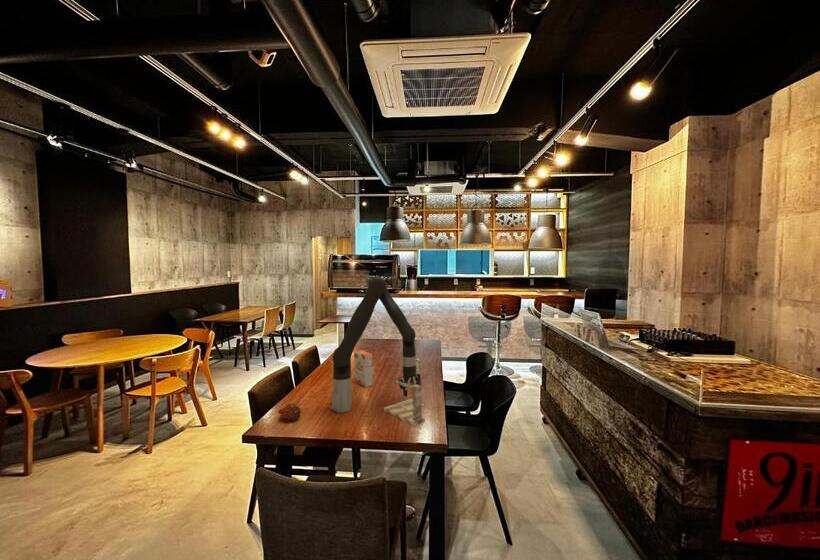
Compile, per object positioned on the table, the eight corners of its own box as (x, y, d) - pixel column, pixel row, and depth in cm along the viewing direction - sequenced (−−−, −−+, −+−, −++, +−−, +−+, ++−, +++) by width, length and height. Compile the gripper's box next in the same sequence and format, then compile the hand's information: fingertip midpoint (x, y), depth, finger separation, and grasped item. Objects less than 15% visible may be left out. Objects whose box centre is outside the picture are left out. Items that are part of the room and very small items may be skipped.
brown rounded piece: (301, 424, 170) (280, 425, 172) (307, 409, 176) (286, 410, 179) (293, 415, 165) (271, 416, 167) (299, 399, 171) (278, 401, 174)
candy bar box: (419, 382, 224) (418, 357, 223) (420, 385, 219) (420, 360, 218) (402, 384, 222) (401, 359, 221) (403, 386, 217) (403, 361, 216)
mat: (408, 411, 180) (408, 410, 180) (395, 404, 188) (395, 403, 188) (423, 405, 187) (423, 404, 187) (410, 399, 195) (410, 398, 195)
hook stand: (424, 421, 168) (424, 385, 167) (413, 426, 163) (413, 388, 162) (394, 406, 186) (393, 373, 185) (384, 410, 181) (383, 376, 181)
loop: (407, 398, 185) (407, 386, 184) (404, 396, 187) (404, 385, 186) (415, 395, 188) (415, 384, 188) (412, 394, 190) (412, 382, 190)
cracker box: (354, 382, 226) (353, 350, 226) (362, 380, 230) (361, 349, 229) (364, 388, 215) (364, 355, 214) (373, 386, 219) (372, 353, 218)
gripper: (414, 360, 194) (415, 389, 195) (394, 365, 185) (395, 396, 186) (423, 362, 189) (424, 393, 189) (403, 368, 179) (404, 400, 180)
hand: (409, 394), depth 187 cm, fingers closed on loop, 5 cm apart
